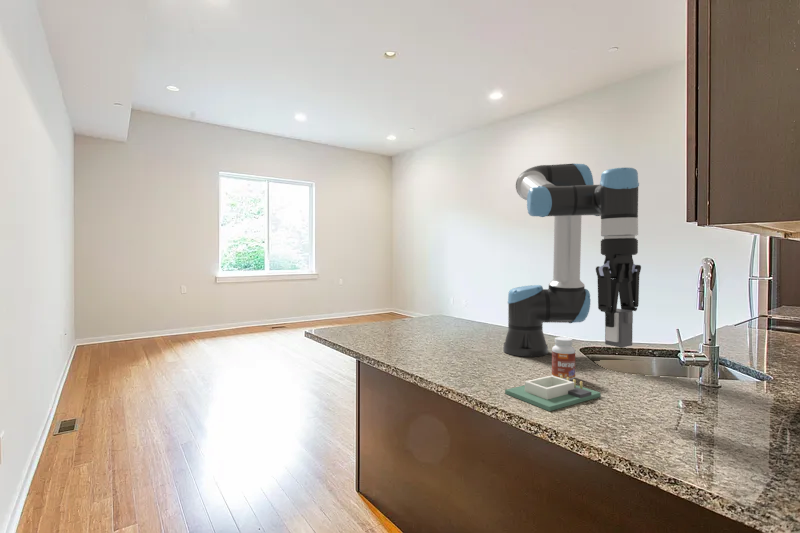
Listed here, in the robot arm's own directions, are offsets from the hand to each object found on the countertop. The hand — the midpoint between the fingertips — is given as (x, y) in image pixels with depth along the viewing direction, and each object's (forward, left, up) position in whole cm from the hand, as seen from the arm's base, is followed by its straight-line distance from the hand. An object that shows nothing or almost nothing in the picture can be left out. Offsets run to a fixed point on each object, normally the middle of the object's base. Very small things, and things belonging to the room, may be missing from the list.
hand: (618, 339), depth 98 cm
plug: (0, 0, -1) cm, 1 cm away
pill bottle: (-7, -21, -16) cm, 27 cm away
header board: (+7, -13, -15) cm, 21 cm away
